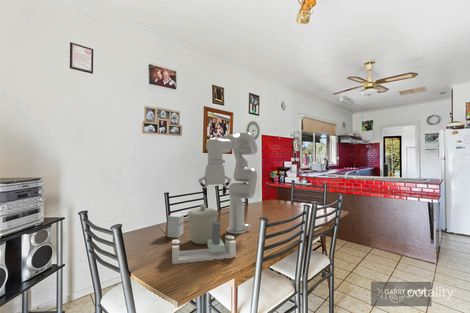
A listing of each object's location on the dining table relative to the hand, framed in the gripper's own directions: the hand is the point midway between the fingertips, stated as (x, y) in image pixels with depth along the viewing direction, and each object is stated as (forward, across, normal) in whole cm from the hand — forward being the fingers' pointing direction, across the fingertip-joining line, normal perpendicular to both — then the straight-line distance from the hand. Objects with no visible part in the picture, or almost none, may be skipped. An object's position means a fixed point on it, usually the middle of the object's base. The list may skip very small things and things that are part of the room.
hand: (214, 195), depth 121 cm
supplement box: (+30, +19, -27) cm, 44 cm away
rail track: (+29, +7, +6) cm, 30 cm away
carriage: (+26, +1, +6) cm, 26 cm away
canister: (+29, +4, -14) cm, 33 cm away
